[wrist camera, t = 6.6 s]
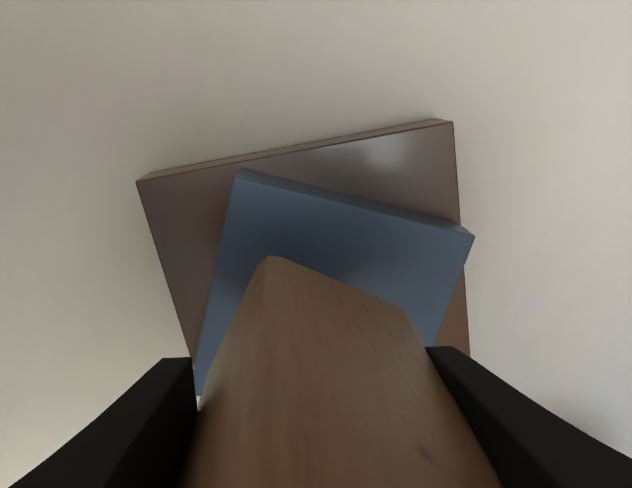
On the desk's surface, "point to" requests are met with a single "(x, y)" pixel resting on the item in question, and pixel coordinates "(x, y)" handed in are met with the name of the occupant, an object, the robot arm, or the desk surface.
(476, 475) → the wooden block
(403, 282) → the top tile
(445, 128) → the base slab
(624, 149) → the desk surface
